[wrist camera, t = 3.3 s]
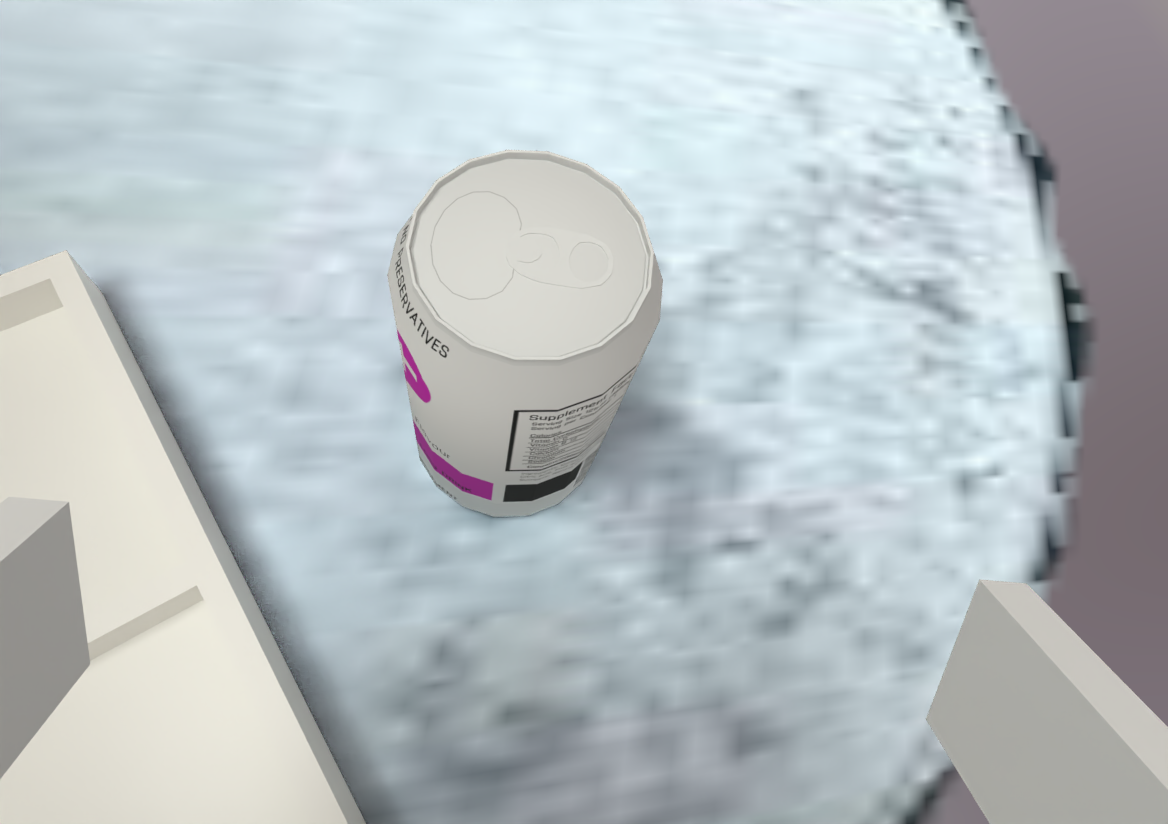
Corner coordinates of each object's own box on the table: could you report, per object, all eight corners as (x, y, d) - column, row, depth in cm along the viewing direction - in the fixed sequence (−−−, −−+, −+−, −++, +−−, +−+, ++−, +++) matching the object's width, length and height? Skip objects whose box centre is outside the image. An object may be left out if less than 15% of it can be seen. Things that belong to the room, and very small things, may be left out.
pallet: (-286, 448, 31) (-374, 416, 28) (102, 293, 36) (66, 250, 32) (-27, 1265, 23) (-106, 1350, 20) (420, 933, 28) (414, 960, 25)
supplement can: (400, 507, 34) (354, 356, 20) (434, 340, 37) (415, 110, 23) (585, 533, 34) (663, 404, 21) (603, 367, 38) (681, 159, 24)
